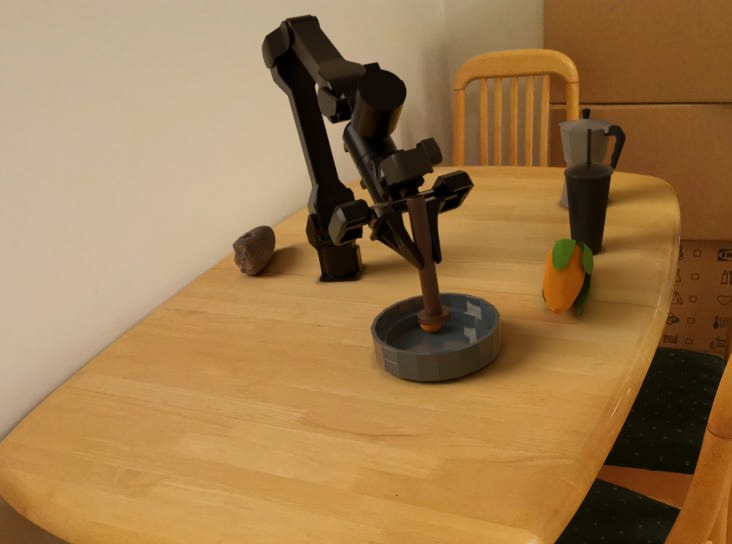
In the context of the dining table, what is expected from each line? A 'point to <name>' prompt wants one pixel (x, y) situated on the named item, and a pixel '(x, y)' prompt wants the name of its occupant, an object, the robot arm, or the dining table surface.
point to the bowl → (437, 338)
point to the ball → (431, 328)
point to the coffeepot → (577, 142)
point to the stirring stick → (426, 265)
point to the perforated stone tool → (254, 249)
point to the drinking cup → (588, 199)
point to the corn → (567, 275)
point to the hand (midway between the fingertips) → (430, 265)
